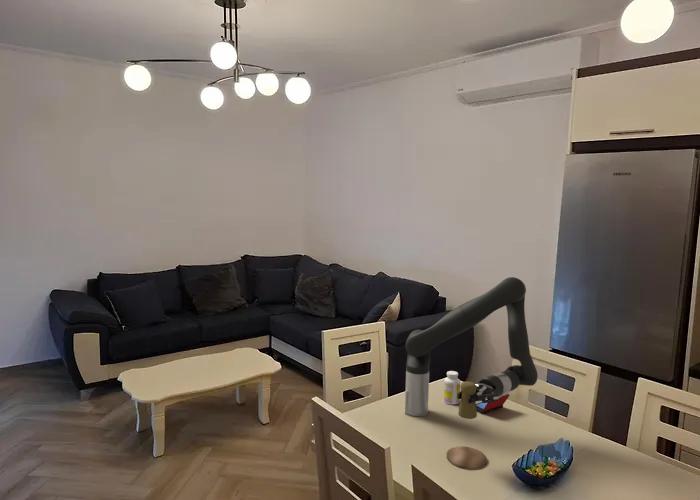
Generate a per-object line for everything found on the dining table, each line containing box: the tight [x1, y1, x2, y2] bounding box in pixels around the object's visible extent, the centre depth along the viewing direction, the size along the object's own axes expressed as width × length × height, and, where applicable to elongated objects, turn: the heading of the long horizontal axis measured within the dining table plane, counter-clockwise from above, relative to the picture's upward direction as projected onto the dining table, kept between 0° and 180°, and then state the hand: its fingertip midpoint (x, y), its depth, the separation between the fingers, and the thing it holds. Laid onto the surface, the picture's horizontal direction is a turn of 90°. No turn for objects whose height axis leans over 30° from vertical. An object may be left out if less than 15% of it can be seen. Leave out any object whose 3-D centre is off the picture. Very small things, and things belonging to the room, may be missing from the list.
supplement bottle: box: [443, 370, 461, 405], centre depth 210 cm, size 7×7×13 cm
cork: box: [457, 381, 478, 420], centre depth 163 cm, size 6×6×11 cm
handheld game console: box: [476, 393, 510, 415], centre depth 203 cm, size 12×11×7 cm
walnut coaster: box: [446, 446, 487, 470], centre depth 165 cm, size 13×13×1 cm
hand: (463, 398), depth 161 cm, fingers closed on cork, 3 cm apart
